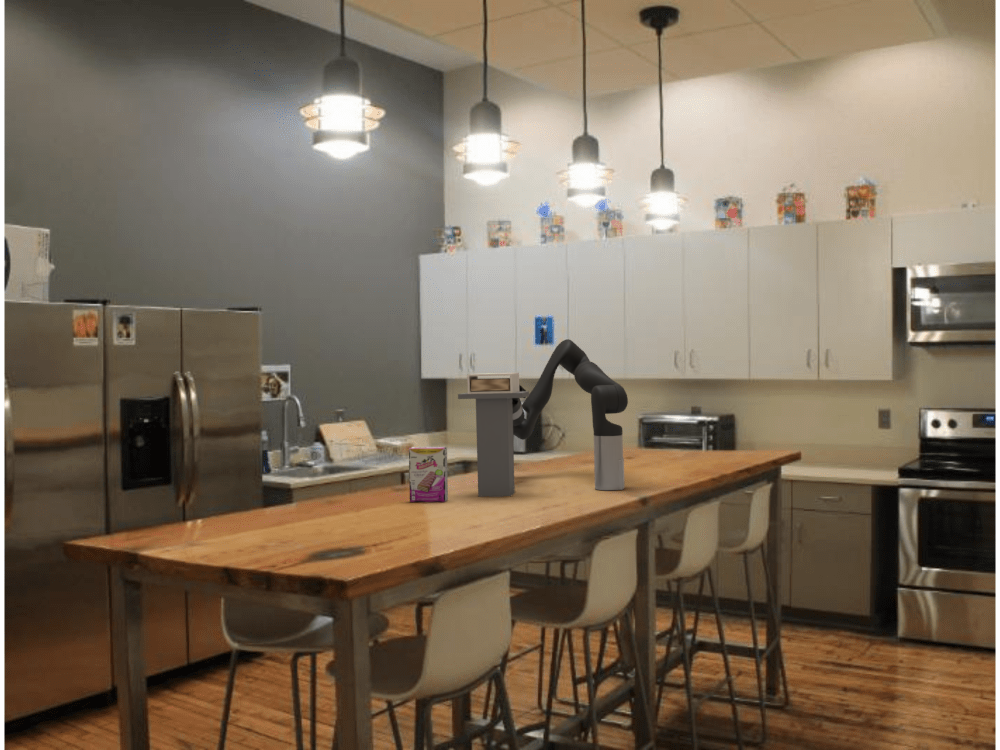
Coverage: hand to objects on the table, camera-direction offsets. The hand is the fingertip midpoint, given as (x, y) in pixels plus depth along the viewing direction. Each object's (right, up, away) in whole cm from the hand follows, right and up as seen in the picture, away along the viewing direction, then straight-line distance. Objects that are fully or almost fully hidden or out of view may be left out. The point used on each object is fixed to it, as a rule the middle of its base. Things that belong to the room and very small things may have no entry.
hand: (501, 380), depth 319 cm
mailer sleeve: (-2, -4, -11) cm, 12 cm away
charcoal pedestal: (-1, -36, -11) cm, 37 cm away
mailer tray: (-1, -3, -6) cm, 7 cm away
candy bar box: (-22, -37, -21) cm, 47 cm away
